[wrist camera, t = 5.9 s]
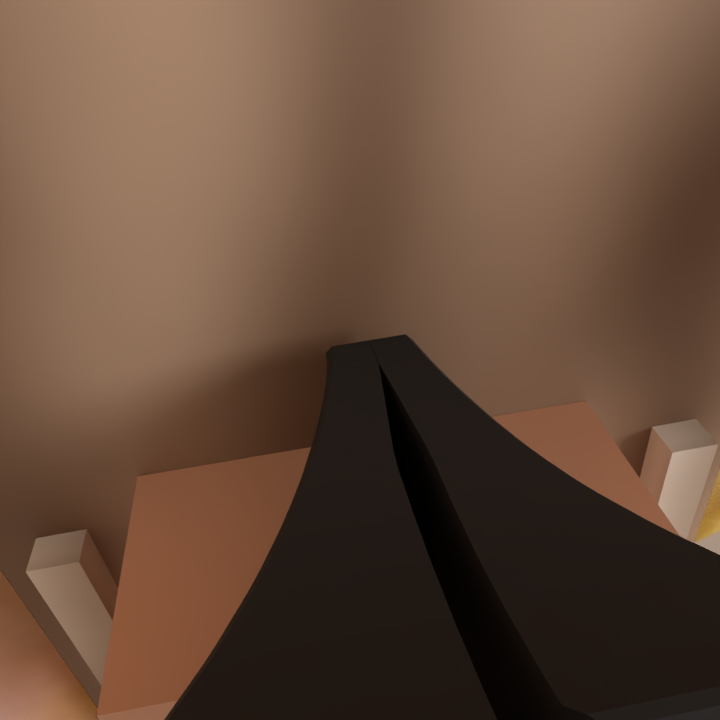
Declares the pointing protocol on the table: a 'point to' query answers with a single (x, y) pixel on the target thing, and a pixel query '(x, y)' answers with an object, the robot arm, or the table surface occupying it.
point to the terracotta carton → (253, 542)
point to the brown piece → (338, 242)
